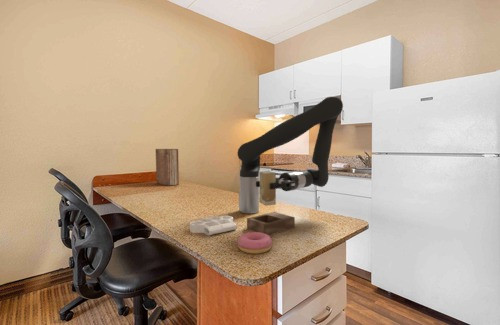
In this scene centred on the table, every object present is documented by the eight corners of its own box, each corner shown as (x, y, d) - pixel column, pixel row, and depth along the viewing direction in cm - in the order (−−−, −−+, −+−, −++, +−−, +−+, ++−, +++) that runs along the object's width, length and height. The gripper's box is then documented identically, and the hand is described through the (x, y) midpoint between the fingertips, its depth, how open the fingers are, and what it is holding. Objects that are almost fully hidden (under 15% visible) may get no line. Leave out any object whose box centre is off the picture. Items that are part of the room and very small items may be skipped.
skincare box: (259, 202, 100) (258, 171, 99) (269, 201, 101) (268, 170, 100) (265, 206, 94) (265, 172, 93) (276, 204, 95) (276, 172, 94)
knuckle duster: (201, 239, 88) (184, 228, 100) (244, 229, 99) (224, 221, 110) (200, 230, 88) (184, 220, 100) (244, 221, 98) (224, 213, 110)
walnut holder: (247, 228, 99) (246, 218, 98) (274, 221, 108) (274, 211, 108) (266, 236, 90) (266, 224, 90) (294, 227, 100) (294, 217, 100)
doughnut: (272, 242, 85) (272, 229, 85) (272, 256, 74) (272, 242, 74) (239, 241, 86) (239, 229, 85) (235, 255, 75) (235, 241, 74)
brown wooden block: (179, 185, 213) (178, 148, 211) (168, 186, 207) (167, 149, 205) (166, 182, 232) (165, 148, 230) (156, 183, 226) (155, 148, 224)
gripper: (279, 170, 111) (250, 173, 101) (306, 173, 100) (276, 177, 90) (279, 187, 112) (250, 192, 101) (306, 192, 101) (277, 198, 90)
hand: (263, 185), depth 96 cm, fingers closed on skincare box, 7 cm apart
